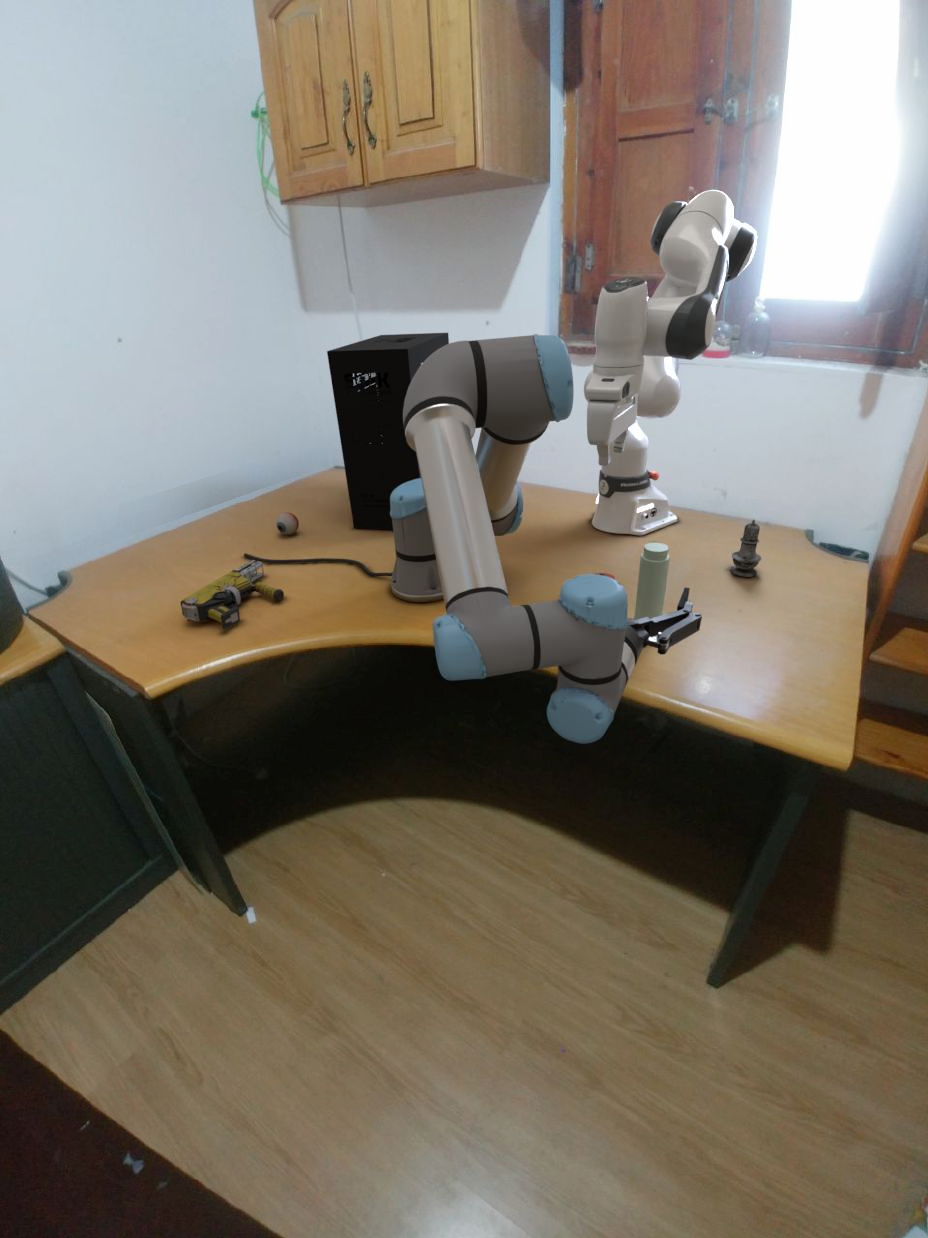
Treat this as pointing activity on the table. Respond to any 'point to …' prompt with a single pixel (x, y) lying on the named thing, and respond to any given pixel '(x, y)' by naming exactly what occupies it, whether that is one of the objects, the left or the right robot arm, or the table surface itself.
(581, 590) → the left robot arm
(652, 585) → the jar
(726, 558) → the table surface
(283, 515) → the eyeball
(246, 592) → the toy gun
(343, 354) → the black computer case
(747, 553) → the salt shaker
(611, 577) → the lid
